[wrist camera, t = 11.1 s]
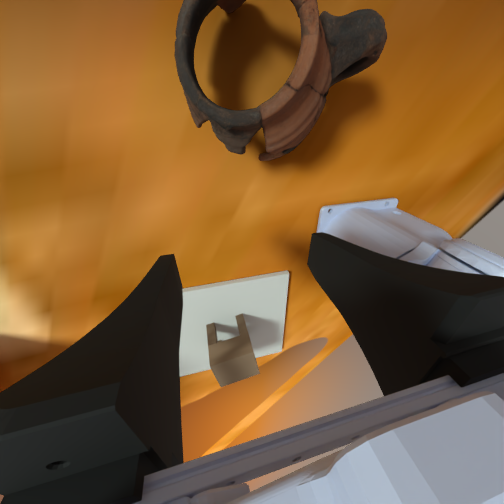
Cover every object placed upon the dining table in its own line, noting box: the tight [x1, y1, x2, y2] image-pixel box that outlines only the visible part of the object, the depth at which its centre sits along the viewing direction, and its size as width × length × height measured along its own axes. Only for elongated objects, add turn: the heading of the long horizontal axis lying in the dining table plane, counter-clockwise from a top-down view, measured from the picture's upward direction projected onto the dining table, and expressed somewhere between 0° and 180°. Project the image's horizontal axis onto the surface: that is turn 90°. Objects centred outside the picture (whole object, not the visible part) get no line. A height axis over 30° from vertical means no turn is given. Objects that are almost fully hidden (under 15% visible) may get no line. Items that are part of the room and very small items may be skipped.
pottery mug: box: [175, 0, 387, 161], centre depth 14 cm, size 12×10×8 cm
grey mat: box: [179, 270, 289, 377], centre depth 29 cm, size 16×16×1 cm
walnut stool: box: [206, 313, 259, 387], centre depth 27 cm, size 5×5×6 cm
